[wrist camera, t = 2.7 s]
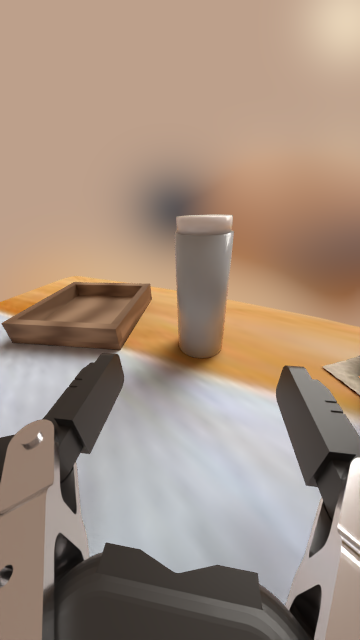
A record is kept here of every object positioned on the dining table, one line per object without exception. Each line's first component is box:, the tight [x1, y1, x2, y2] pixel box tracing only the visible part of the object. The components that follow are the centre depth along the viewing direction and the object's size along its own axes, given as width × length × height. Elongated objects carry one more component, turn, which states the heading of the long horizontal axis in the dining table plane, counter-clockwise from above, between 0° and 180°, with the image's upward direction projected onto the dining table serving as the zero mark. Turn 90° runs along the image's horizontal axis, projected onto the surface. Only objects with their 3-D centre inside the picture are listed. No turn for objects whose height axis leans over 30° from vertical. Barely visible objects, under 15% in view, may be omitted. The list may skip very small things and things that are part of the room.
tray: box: [1, 282, 152, 350], centre depth 28 cm, size 14×14×3 cm
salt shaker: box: [175, 215, 234, 358], centre depth 19 cm, size 5×5×13 cm
